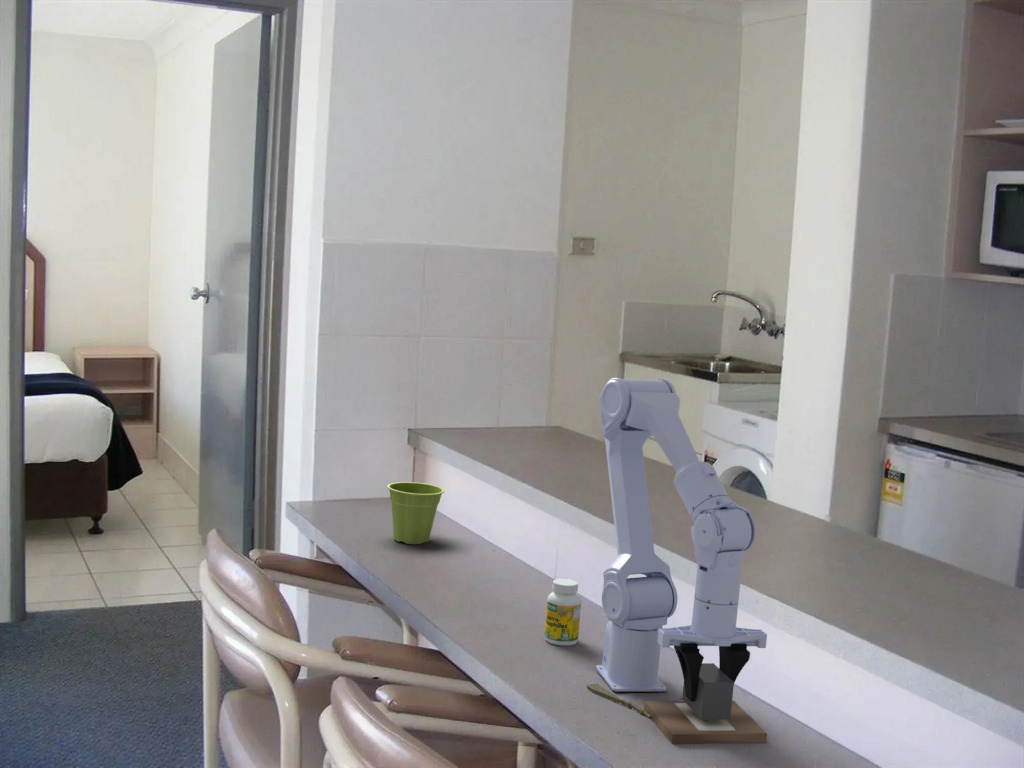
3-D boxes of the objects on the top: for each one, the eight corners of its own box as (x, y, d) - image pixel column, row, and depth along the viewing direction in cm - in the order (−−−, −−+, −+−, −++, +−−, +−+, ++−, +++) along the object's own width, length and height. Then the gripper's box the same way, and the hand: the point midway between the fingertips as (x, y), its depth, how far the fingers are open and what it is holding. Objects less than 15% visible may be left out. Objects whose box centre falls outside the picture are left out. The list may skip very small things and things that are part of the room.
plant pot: (404, 550, 232) (408, 495, 231) (372, 536, 242) (376, 483, 240) (451, 544, 240) (455, 491, 239) (419, 531, 249) (423, 480, 248)
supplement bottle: (583, 640, 185) (588, 582, 184) (568, 649, 180) (573, 589, 179) (553, 633, 188) (558, 575, 187) (537, 641, 183) (542, 582, 182)
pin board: (643, 709, 158) (646, 682, 157) (733, 709, 161) (735, 682, 160) (671, 743, 147) (674, 714, 147) (766, 742, 150) (769, 714, 150)
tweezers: (585, 690, 164) (585, 684, 164) (595, 688, 165) (596, 682, 165) (644, 722, 154) (645, 715, 154) (655, 719, 156) (656, 713, 155)
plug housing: (677, 693, 158) (680, 658, 158) (704, 693, 159) (708, 658, 159) (701, 719, 150) (704, 682, 149) (730, 719, 151) (733, 682, 150)
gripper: (674, 607, 147) (664, 710, 148) (780, 608, 150) (769, 710, 151) (656, 591, 153) (646, 689, 155) (758, 592, 157) (748, 689, 158)
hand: (706, 698), depth 153 cm, fingers closed on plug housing, 4 cm apart
